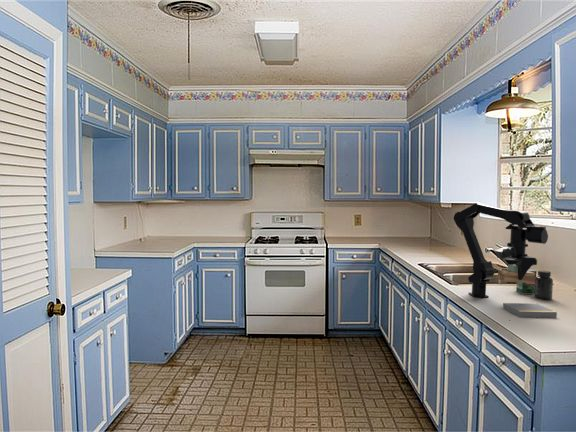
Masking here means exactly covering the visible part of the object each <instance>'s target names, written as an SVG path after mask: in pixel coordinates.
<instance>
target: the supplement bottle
mask: <svg viewBox="0 0 576 432" xmlns="http://www.w3.org/2000/svg"><path fill="white" fill-rule="evenodd" d="M551 273H552V272H551V271H549V270H541V269H540V270H537V276H536V278H535V294H534V298H536V299H538V300H546V301H548V300H549V301H550V300H552V299H553V291H554V290H553V289H554V279H553V278H552V277H551V276H552V275H551Z"/></svg>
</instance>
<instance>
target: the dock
mask: <svg viewBox="0 0 576 432" xmlns="http://www.w3.org/2000/svg"><path fill="white" fill-rule="evenodd" d="M502 303H503V304H502V309H504V310H506V311H508V312H509V313H511V314H514V315H515V316H517V317H518V318H554V319H555V318H557V315H558V312H557V311H555V310H552V309H550V308H548V307H546V306H543V305H541V304H539V303H533V302H532V303H530V302H529V303H527V302H525V303H524V302H522V303H521V302H515V303H514V302H502Z"/></svg>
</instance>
